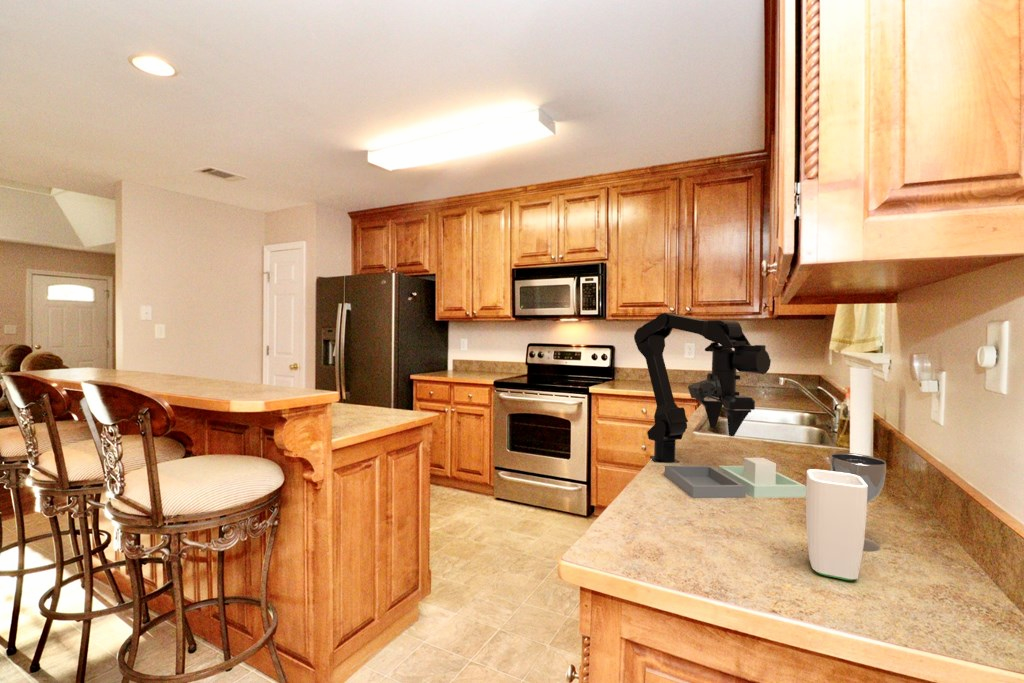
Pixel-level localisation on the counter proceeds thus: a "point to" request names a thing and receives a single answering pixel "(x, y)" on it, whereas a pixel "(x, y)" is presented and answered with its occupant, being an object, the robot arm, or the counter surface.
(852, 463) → the wine glass
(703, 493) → the bin
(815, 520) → the cup
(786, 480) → the bin
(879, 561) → the counter surface
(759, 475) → the stone block
